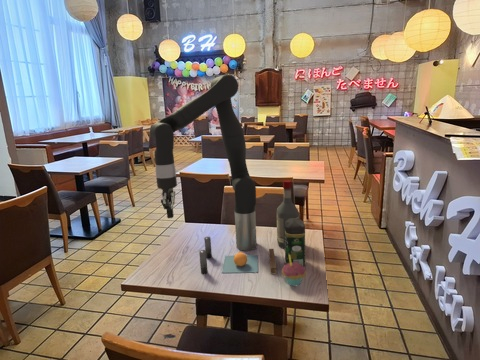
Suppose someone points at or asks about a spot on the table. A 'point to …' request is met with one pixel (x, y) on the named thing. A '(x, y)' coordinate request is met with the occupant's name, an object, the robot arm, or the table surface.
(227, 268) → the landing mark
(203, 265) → the post
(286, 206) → the liquor
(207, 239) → the post
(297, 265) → the cupcake
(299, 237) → the coffee jar
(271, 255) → the stopper wall
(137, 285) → the table surface
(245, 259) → the ball
